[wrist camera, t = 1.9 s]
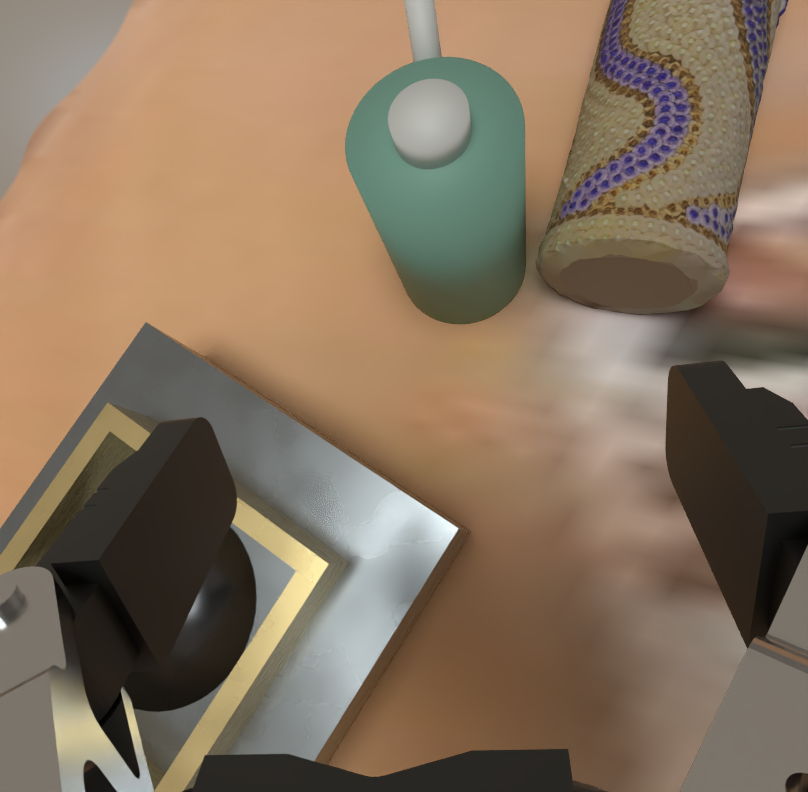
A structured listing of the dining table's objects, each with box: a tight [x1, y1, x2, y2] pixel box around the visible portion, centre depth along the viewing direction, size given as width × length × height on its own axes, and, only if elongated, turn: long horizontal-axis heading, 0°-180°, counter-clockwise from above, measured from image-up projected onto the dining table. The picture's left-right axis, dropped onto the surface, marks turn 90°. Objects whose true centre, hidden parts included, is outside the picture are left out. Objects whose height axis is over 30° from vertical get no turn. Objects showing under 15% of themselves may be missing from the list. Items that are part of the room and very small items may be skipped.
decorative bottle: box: [536, 0, 788, 314], centre depth 27 cm, size 26×8×7 cm, turn 163°
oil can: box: [345, 0, 526, 324], centre depth 25 cm, size 9×6×12 cm
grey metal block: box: [0, 323, 470, 792], centre depth 25 cm, size 21×16×8 cm
